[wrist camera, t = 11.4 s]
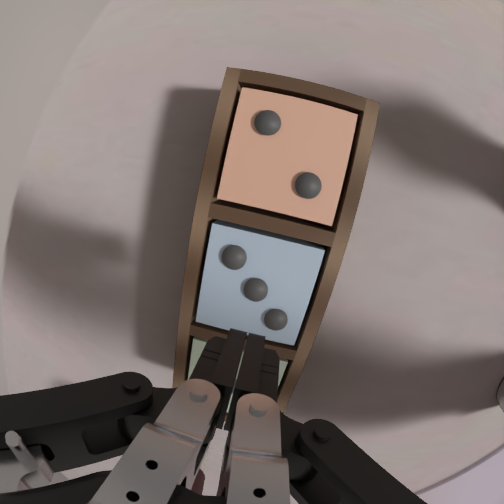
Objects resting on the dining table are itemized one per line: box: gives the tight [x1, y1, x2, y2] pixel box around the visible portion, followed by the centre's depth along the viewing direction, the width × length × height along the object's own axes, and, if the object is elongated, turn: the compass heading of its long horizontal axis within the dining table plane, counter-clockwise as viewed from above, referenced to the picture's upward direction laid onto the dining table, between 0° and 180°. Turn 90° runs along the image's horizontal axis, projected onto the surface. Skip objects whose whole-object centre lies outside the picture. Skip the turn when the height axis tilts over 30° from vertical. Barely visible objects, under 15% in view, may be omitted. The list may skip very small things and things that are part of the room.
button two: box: [217, 87, 358, 226], centre depth 15 cm, size 6×6×3 cm
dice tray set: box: [173, 67, 380, 421], centre depth 19 cm, size 24×9×5 cm, turn 168°
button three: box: [196, 220, 325, 345], centre depth 18 cm, size 6×6×3 cm
